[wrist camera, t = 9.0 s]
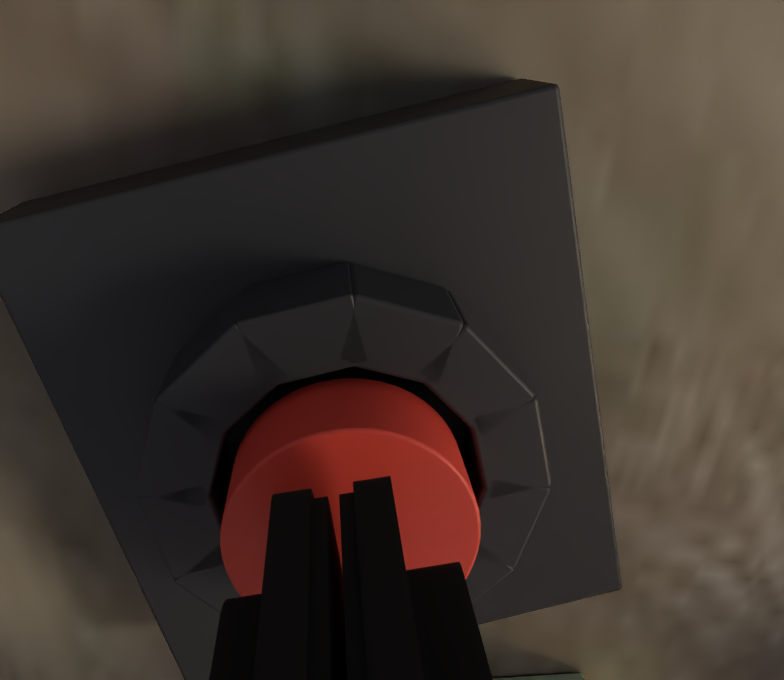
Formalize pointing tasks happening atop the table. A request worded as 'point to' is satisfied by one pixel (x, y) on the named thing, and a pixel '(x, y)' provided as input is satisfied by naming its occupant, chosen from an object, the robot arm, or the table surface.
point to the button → (351, 472)
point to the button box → (328, 334)
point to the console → (547, 677)
